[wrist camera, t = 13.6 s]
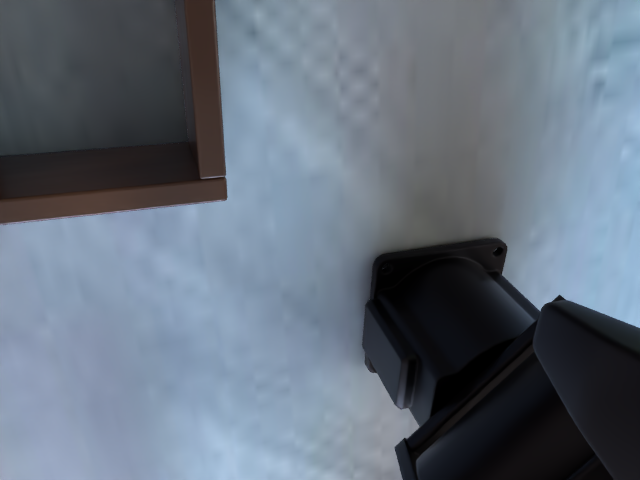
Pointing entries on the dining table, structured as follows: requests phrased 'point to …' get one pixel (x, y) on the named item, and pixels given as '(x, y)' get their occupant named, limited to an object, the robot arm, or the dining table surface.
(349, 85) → the dining table surface
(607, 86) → the dining table surface
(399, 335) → the robot arm
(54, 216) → the rack
